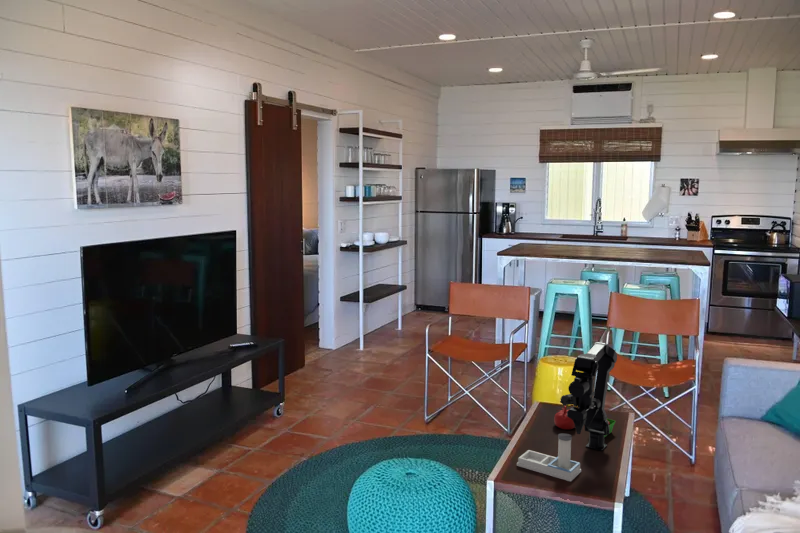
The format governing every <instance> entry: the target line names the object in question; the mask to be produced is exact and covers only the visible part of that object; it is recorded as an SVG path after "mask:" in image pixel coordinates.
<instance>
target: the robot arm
mask: <svg viewBox="0 0 800 533" xmlns="http://www.w3.org/2000/svg"><path fill="white" fill-rule="evenodd" d="M617 361H618V354H617V352H616V350H615V349H613V348H612V347H610V344H608V343H607V342H600V341H596V342H594V343H593V346H592V347H591V348H590V349H589V350H588V351H587V352H586V353H581V354H579V355H578V356H577V357H576V358H575V360H574V363H573V366H572V371H571V376H573V377H574V380H573V381H572V382H570V384H569V386H568V388H567V389H568V392H569V394H565V395H563V394H562V395H561V397H560V398H559V399H560V404H561V405H562V406H563V407H564V406H566V407H567V406H569V405H572V407H571V408H569V410H568V409H567V410H568V411H567V417H569V418H570V419H572V420H573V422H574V425H575V428H574V429H575V432H576V434H577V435H581V432H582V430H583V428H584V432H589V433H588V434H589V435H588V436H589V437H588V443H587V444H586V445H585V447H586V448H589V449H592V450H596V451H600V452H601V451H603V450H604V449H605V448H607V446H608V444H606V443H605V437H604V435H605V436H606V435H607V436H609V435H610V434H611V433H610V426H609V424H608V421H607V419H608V415H607V412H606V410H605V404H606V396H607V390H608V384H609V376H610V372H612V370H613V369H614V368H615V364H616V363H617ZM594 378H595V385H594ZM607 436H606V437H607Z"/></svg>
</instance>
